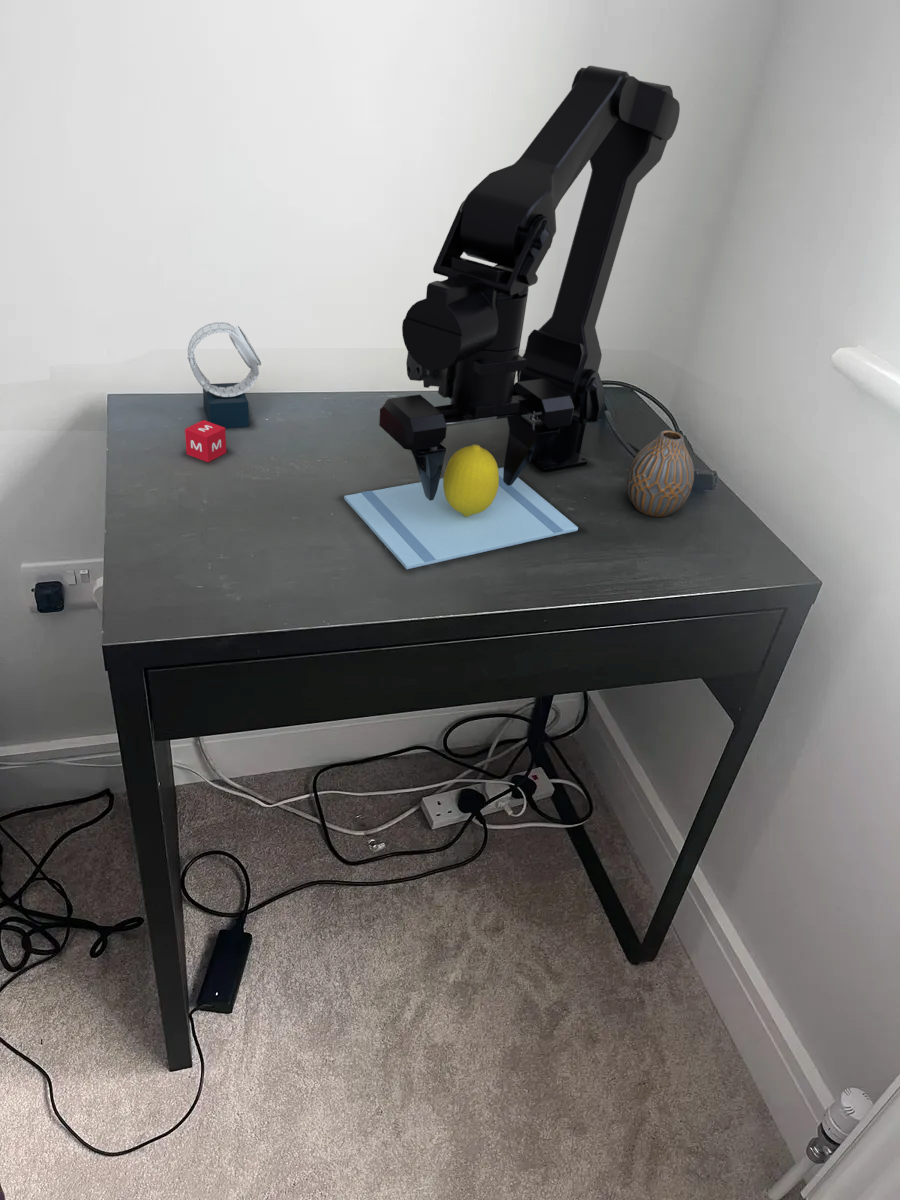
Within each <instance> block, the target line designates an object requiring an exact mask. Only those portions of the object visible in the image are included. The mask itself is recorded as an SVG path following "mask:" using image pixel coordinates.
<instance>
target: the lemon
mask: <svg viewBox="0 0 900 1200" xmlns="http://www.w3.org/2000/svg"><path fill="white" fill-rule="evenodd" d="M498 468H499V467H498V463H497V460H496V459H495V457H494V456H493V454H492V453H491V452H489V451H488V450H487V449H486V448H484V447H481V446H480V445H479V444H476V443H475V444H472V445H468V446H464V447H462V448H460V449H458V450H457V451H455V452H454V453H453V454H452V455H451V457H450V458H449V460H448V462H447V465H446V467H445V471H444V474H443V478H444V479H443V488H444V493H445V497H446V499H447V501H448V503H449V504H450V506H451V507H452V508H454V509H455V510H456V511H458V512H460V513H462V514H463V515H464V516H466V517H469V516H470V515H472V514H477V513H480V512H482V511H484V510H485V509H487V508H488V507H489V506H490V505H491V504H492V502H493V500H494V498H495V496H496V494H497V491H498V486H499V472H498Z"/></svg>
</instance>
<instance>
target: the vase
mask: <svg viewBox="0 0 900 1200" xmlns="http://www.w3.org/2000/svg"><path fill="white" fill-rule="evenodd" d="M694 480H695V467H694V463H693V460H692V457H691V455H690V453H689V451H688V449H687V447H686V445H685V439H684V436H683V434H681V432H678V431H676V430H672V429H671V430H669V429H668V430H667V429H666V430H662V431H660V433H659V434H658V435H657V436H656V437H655V438H654V440H652V441H650V442H649V443H648V444H646V445H644V446H643V448H642V449H640V450H639V451H638V452H637V454H636V455H635V456H634V458H633V460H632V461H631V463H630V466H629V469H628V472H627V477H626V492H627V496H628V499H629V500H630V502H631V504H632V505H633V506H634V508H635V509H636V510H637V511H638V512H639V513H641V514H643V515H646V516H650V517H654V518H664V517H668V516H670V515H671V514H674V513H676V512H677V511H679V509H681V508H682V507H683V506H684V504H685V503H686V501H687V500H688V499H689V498H690V494H691V493H692V489H693V485H694V482H695V481H694Z"/></svg>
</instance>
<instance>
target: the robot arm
mask: <svg viewBox="0 0 900 1200" xmlns="http://www.w3.org/2000/svg"><path fill="white" fill-rule="evenodd" d="M680 107H681V106H680V102H679V100H677V98H675V97H674V92H673V89H672V87H671V86H670V85H666V84H660V83H655V82H650V81H645V80H644V81H643V80H639V79H637V78H636V77H635V76H633V75H630V74H629V72H628V71H625V70H619V69H613V68H608V67H602V66H598V65H597V66H596V65H588V66H587V67H580V69H578V70H577V72H576V73H575V75H574V78H573V80H572V84H571V89H570V90H569V92H568V93H567V94H566V96H565V97H564V99H563V100H562V101H561V102H560V104H559V105H558V106H557V108H556V109H555V110H554V112H553V113H552V114H551V116H550V117H549V118H548V120H547V121H546V122H545V124H544V125H543V126H542V128H541V129H540V130H539V132H537V135H536V136H535V137H534V138H533V140H532V141H531V142H530V144H529V145H528V146H527V148H526V149H525V150H524V152H523V153H522V154H521V156H520V157H519V159H518V160H516V161H515V162H514V163H513V164H510V165H508V166H506V167H503V168H500V169H498V170H495V171H492V172H490V173H488V174H487V176H486V177H484V178H483V179H482V180H481V181H480V182H479V183H478V184H477V185H476V186H475V187H474V188H472V189H471V191H469V193H468V194H467V196H466V197H465V199H464V200H463V201H462V202H461V204H460V206H459V208H458V210H457V212H456V214H455V217H454V218H453V221H452V224H451V225H450V228H449V230H448V233H447V235H446V237H445V240H444V241H443V245H442V247H441V249H440V250H439V254H438V256H437V257H436V261H435V263H434V265H433V267H432V273H434V274H436V275H439V276H443V277H447V278H446V279H443V280H434V281H432V282H429V283H428V284H427V285H426V294H425V298H423V299H419V300H418V301H416V302H415V303H413V304H412V305H411V306H410V308H409V309H408V310H407V312H406V315H405V317H404V319H403V320H402V324H401V329H402V330H401V331H402V339H403V343H404V346H405V348H406V350H407V356H406V375H407V377H408V379H409V380H410V381H415V382H417V381H418V382H421V381H422V382H423V388H426V389H428V388H430V387H437V388H438V390H437V392H438V393H437V394H438V395H439V396H441V397H442V398H444V399H446V398H449V400H450V404H444V405H438V406H434V405H433V404H432V403H431V402H430V401H428V400H427V399H426V398H425V397H423V395H422V394H415V395H407V396H406V395H405V396H398V397H391V398H387V399H386V400H385V401H384V402H383V403H382V405H381V407H380V409H379V419H378V420H379V421H378V425H379V427H380V428H381V429H382V430H383V431H384V432H386V434H388V435H389V436H390V437H391V438H392V439H393V440H394V441H395V442H396V443H397V444H399V446H401V448H402V449H404V450H408V451H410V452H411V454H412V457H413V459H414V462H415V465H416V468H417V473H418V475H419V479H420V482H421V483H422V487H423V490H424V494H425V496H426V498H427V499H428V500H430V501H431V500H434V497H435V495H436V492H437V489H438V485H439V480H440V479H441V475H442V471H443V467H444V463H445V458H446V453H447V448H446V447H445V446H444V445H443V444H442V442H443V441H444V440H445V439H446V438H447V429H448V427H453V426H460V425H467V424H473V423H480V422H486V421H487V422H488V421H494V420H499V419H506V420H507V424H508V437H507V443H506V450H505V456H504V457H505V458H504V462H503V463H504V464H503V467H504V472H503V481H504V483H505V484H506V485H508V486H510V485H512V484H513V483H514V481H515V480H516V479H517V478H519V477H520V475H521V474H522V472H523V471H524V470H525V468H526V467H527V466H528V465H529V464H530V463H531V464H532V465H534V466H535V467H536V468H537V469H539V470H540V471H541V472H545V473H547V472H552V471H558V470H564V469H567V468H573V467H580V466H585V465H587V464H588V458H586V457H585V456H584V455H582V454H581V450H582V446H583V440H584V436H585V431H586V426H587V423H597V422H599V420H600V415H601V412H602V410H603V408H604V405H605V400H606V397H607V394H606V391H605V387H604V385H603V382H602V379H601V376H600V373H599V369H600V365H601V360H602V356H603V355H602V349H601V345H600V342H599V338H598V334H597V329H596V325H597V321H598V318H599V315H600V311H601V307H602V304H603V301H604V298H605V296H606V295H605V294H606V291H607V288H608V284H609V281H610V277H611V273H612V271H613V267H614V264H615V261H616V256H617V253H618V250H619V247H620V243H621V240H622V236H623V234H624V229H625V227H626V223H627V220H628V217H629V213H630V210H631V206H632V203H633V199H634V196H635V193H636V189H637V186H638V184H639V183H640V182H641V181H642V180H643V179H644V178H645V177H646V175H648V174H649V172H651V170H653V169H654V168H655V166H656V165H657V164H659V162H661V160H662V157H663V155H664V152H665V149H666V147H667V143H668V141H669V140H670V139H671V138H672V137H673V135H674V133H675V131H676V129H677V126H678V123H679V118H680V113H681V112H680V111H681V109H680ZM588 163H589V164H590V169H591V173H590V178H589V181H588V185H587V188H586V191H585V196H584V199H583V202H582V203H583V204H582V207H581V210H580V214H579V217H578V221H577V224H576V228H575V231H574V235H573V239H572V241H571V246H570V250H569V253H568V257H567V260H566V264H565V269H564V271H563V275H562V279H561V282H560V287H559V289H558V293H557V297H556V299H555V300H556V301H555V304H554V307H553V311H552V314H551V317H550V318H548V319H547V321H546V322H545V323H543V324H542V326H541V327H540V328H539V329H535V328H534V329H533V330H532V331H531V332H530V334H529V335H528V336H527V341H526V346H525V350H524V353H523V355H520V349H521V343H522V342H521V341H522V335H523V330H524V321H525V315H526V309H527V303H528V296H529V287H531V286H534V285H536V284H537V283H538V280H539V277H538V275H537V272H538V270H539V268H540V266H541V264H542V263H543V261H544V258H545V257H546V255H547V253H548V251H549V250H550V248H551V247H552V244H553V239H554V237H555V235H556V233H557V218H556V217H557V216H556V210H557V208H558V206H559V204H560V202H561V200H562V199H563V198H564V196H565V195H566V194H567V192H568V191H569V189H570V188H571V186H572V185H573V184H574V182H575V181H576V179H577V178H578V177H579V176H580V174H581V172H582V171H583V169H584V168H585V167H586V165H587V164H588ZM464 254H465V255H466V256H467V257H469V258H473V259H477V260H481V261H484V262H488V263H492V264H495V265H489V264H486V263H483V262H479V261H475V260H472V259H468V258H465V257H462V255H464ZM516 380H517V381H516ZM515 381H516V382H515Z"/></svg>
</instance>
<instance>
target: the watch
mask: <svg viewBox="0 0 900 1200" xmlns="http://www.w3.org/2000/svg"><path fill="white" fill-rule="evenodd" d="M222 333H224V334H228V336H229V338H230V340H231V342H232V344H233V346H234V347H235V349H236V350H237V353H238V354H239V355H240V357H241V359H242V360H243V362H244V363H245V365H246V366H247V367H248V368H249V369H250V371H249V372H248V374H247V375H246V377H245V378H243V379H242V380H241V381H240V382H223V383H221V382H219V383H211V381H210V379H208V378H207V377H206V376H205V375H204V373H203V372H202V371H201V369H200V367H199V365H198V364H197V361H196V355H195V354H194V352H195V350H196V348H197V346H199V344H200V342H201V341H202V340H204V339H206V338H207V337H208V336H211V335H214V334H222ZM187 360H188V363H189V366H190V369H191V372H192V374H193V376H194V378H195V379H196V381H197V383H198V384H199V385H200V386H201V388H202V395H203V396H202V397H203V399H202V400H203V410H204V413H205V417H206V419H207V421H208V422H211V423H213V424H216V425H219V426H222V427H224V428H225V429H240V428H242V429H243V428H250V418H249V417H250V413H249V412H250V411H249V410H250V409H249V400H248V398H247V395H246V393H245V392H247V391H249V390H250V389H251V388H252V386H253V385H254V384H255V383H256V380H258V377H259V375H260V370H259V366H261V365H262V361H261V360H260V357H259V355H258V354H257V352H256V350H255V349H254V347H253V345H252V343H251V342H250V341H249V339H248V337H247V336H246V334H245V333H244V331H243V330H242V328H241V327H240V326H239V325H236V326H234V325H232V324H230V323H229V322H219V321H218V322H212V323H208V324H205V325H204V326H202V327H200V328H199V329H198V330H196V331H195V332H194V334H193V335H192V336H191V338H190V340H189V342H188V346H187Z"/></svg>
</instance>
